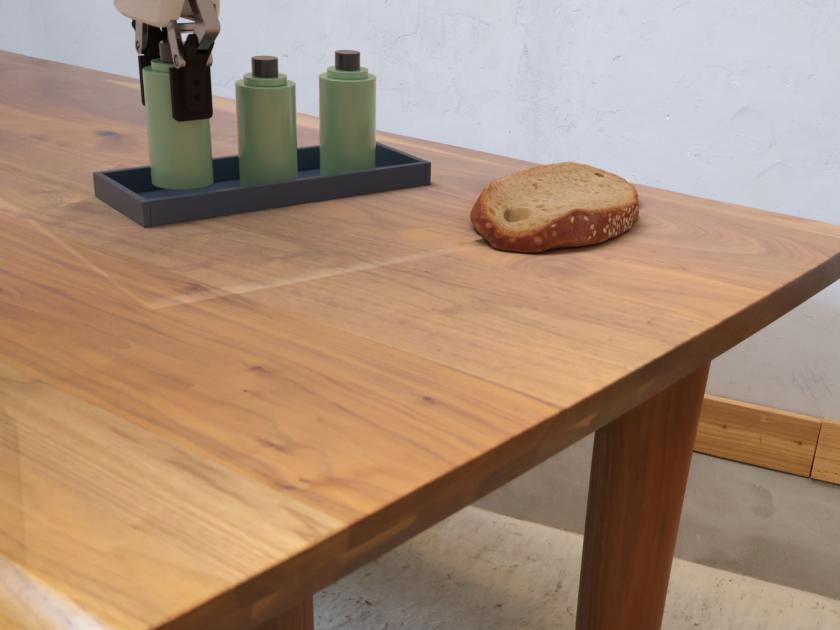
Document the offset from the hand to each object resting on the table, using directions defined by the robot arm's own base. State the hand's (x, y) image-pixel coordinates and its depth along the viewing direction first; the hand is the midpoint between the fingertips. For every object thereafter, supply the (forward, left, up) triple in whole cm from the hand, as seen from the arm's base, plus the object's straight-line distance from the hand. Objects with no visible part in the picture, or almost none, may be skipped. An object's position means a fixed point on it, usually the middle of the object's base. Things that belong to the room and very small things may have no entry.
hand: (176, 110), depth 92 cm
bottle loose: (0, 0, -6) cm, 6 cm away
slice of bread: (+26, -17, -8) cm, 32 cm away
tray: (+8, 0, -8) cm, 11 cm away
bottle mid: (+8, 0, -8) cm, 11 cm away
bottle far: (+16, 0, -8) cm, 18 cm away
